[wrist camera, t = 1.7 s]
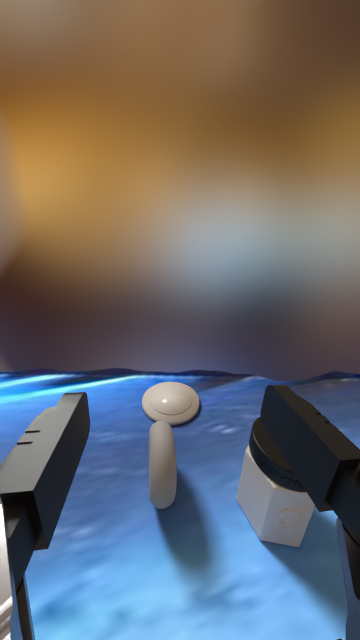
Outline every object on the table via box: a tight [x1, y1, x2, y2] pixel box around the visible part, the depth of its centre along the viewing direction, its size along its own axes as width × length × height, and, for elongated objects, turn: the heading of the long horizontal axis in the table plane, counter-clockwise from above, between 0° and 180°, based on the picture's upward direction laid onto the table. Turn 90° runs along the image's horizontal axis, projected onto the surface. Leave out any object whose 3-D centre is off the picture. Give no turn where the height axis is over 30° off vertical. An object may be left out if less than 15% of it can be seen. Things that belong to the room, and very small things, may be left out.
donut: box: [149, 421, 177, 509], centre depth 27 cm, size 10×3×10 cm, turn 9°
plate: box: [142, 382, 199, 425], centre depth 45 cm, size 13×13×1 cm
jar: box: [236, 417, 315, 547], centre depth 25 cm, size 9×8×12 cm
